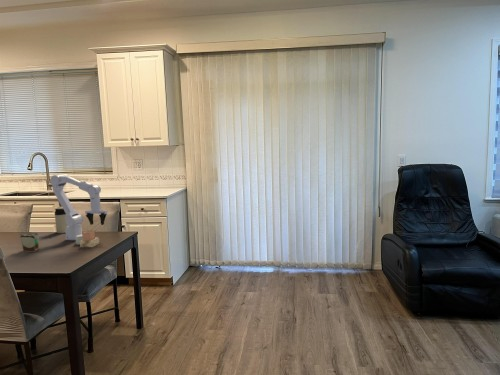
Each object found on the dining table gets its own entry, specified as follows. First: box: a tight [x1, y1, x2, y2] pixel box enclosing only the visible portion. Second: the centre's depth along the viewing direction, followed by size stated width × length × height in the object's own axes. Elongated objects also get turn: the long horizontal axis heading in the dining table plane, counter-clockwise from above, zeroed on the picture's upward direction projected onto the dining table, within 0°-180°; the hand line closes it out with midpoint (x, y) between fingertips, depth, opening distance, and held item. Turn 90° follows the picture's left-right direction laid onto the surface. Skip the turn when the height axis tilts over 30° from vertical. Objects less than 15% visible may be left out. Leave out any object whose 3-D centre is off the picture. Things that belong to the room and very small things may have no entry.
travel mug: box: [54, 205, 68, 234], centre depth 260 cm, size 8×8×18 cm
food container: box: [19, 232, 40, 253], centre depth 219 cm, size 12×6×10 cm, turn 71°
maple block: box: [79, 237, 100, 248], centre depth 226 cm, size 8×8×4 cm
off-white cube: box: [75, 235, 83, 245], centre depth 231 cm, size 5×5×5 cm
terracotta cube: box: [82, 230, 96, 241], centre depth 225 cm, size 5×5×5 cm
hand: (97, 224), depth 238 cm, fingers open, 7 cm apart
